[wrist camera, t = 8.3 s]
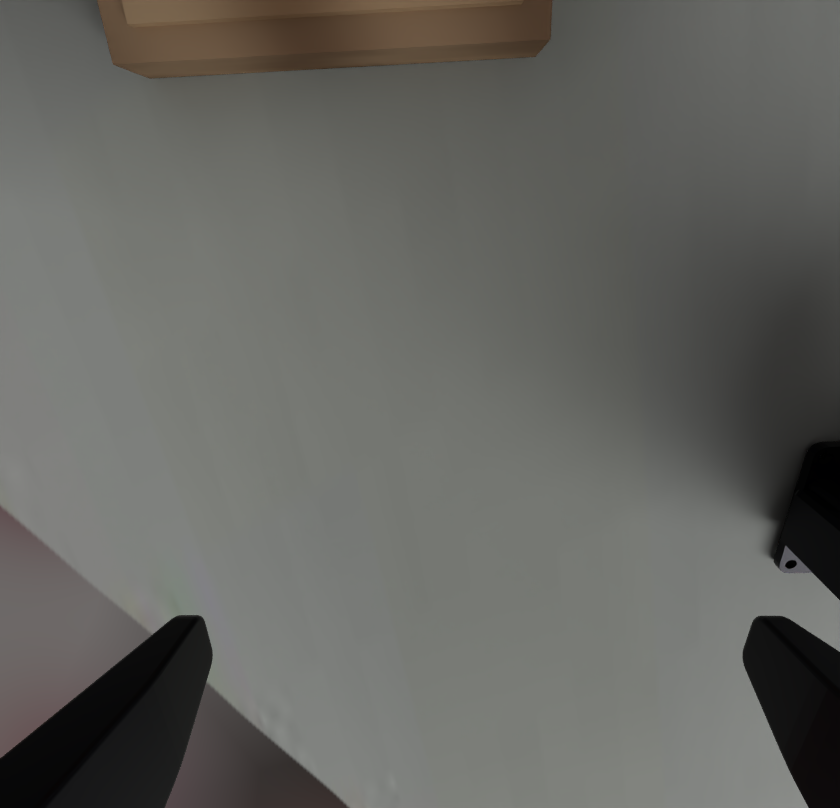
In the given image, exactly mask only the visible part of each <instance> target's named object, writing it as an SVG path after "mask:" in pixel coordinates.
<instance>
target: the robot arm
mask: <svg viewBox="0 0 840 808" xmlns="http://www.w3.org/2000/svg"><path fill="white" fill-rule="evenodd" d="M824 453H825V454H824ZM822 454H824V455H823V456H822V457H821V458H820V456H821V455H822ZM774 563H775V565H776V566H777V567H778V568H779V569H780V570H781V571H782V572H784V573H809V572H812V573H813V574H814V575H815V576H816V577H817V578H818V579H819V580H820V581H821V582H822V583H823V584H824V585H825V586H826V587H827V588H828V589H829V590H830V591H831V592H832V593H833V594H834V595H835V596H836V597H837V598H838V599H839V600H840V442H821V443H817V444H815V445H813V446H812V447H810V448H809V449H808V451H807V453H806V456H805V459H804V463H803V466H802V469H801V472H800V476H799V479H798V482H797V485H796V489H795V492H794V495H793V498H792V502H791V505H790V508H789V511H788V515H787V518H786V521H785V524H784V528H783V531H782V534H781V537H780V541H779V544H778V547H777V550H776V553H775V557H774ZM212 656H213V654H212V647H211V643H210V639H209V635H208V632H207V628H206V624H205V621H204V619H203V618H202V617H201V616H199V615H179V616H176V617H174V618H173V619H171V620H170V621H169V622H167V623H166V624H165V625H164V626H163V627H161V628H160V629H159V630H158V631H156V632H155V633H154V634H153V635H151V636H150V637H149V638H148V639H147V640H145V641H144V642H143V643H142V644H140V645H139V646H138V647H137V648H135V649H134V650H133V651H132V652H131V653H130V654H128V655H127V656H126V657H124V658H123V659H122V660H121V661H119V662H118V663H117V664H116V665H115V666H113V667H112V668H111V669H110V670H108V671H107V672H106V673H105V674H104V675H102V676H101V677H100V678H99V679H97V680H96V681H95V682H94V683H92V684H91V685H90V686H89V687H88V688H86V689H85V690H84V691H83V692H81V693H80V694H79V695H78V696H77V697H75V698H74V699H73V700H71V701H70V702H69V703H68V704H67V705H65V706H64V707H63V708H62V709H60V710H59V711H58V712H57V713H56V714H54V715H53V716H52V717H51V718H49V719H48V720H47V721H46V722H44V723H43V724H42V725H41V726H40V727H38V728H37V729H36V730H35V731H33V732H32V733H31V734H30V735H29V736H27V737H26V738H25V739H24V740H22V741H21V742H20V743H19V744H17V745H16V746H15V747H14V748H13V749H11V750H10V751H9V752H8V753H6V754H5V755H4V756H3V757H1V758H0V808H165V806H166V803H167V800H168V798H169V796H170V793H171V791H172V788H173V786H174V783H175V780H176V778H177V775H178V772H179V770H180V767H181V764H182V761H183V758H184V755H185V752H186V748H187V745H188V742H189V738H190V735H191V731H192V728H193V725H194V722H195V718H196V715H197V711H198V708H199V705H200V701H201V698H202V695H203V691H204V688H205V684H206V681H207V678H208V674H209V671H210V668H211V664H212ZM743 663H744V666H745V669H746V672H747V674H748V676H749V679H750V681H751V683H752V686H753V688H754V690H755V693H756V695H757V697H758V700H759V702H760V704H761V707H762V709H763V711H764V714H765V716H766V718H767V721H768V723H769V725H770V728H771V730H772V732H773V735H774V737H775V739H776V742H777V744H778V746H779V749H780V751H781V753H782V756H783V758H784V760H785V762H786V764H787V766H788V769H789V771H790V773H791V775H792V777H793V779H794V781H795V783H796V785H797V787H798V789H799V790H800V792H801V794H802V796H803V798H804V800H805V802H806V804H807V805H808V807H809V808H840V652H839V651H837V650H836V649H834V648H833V647H831V646H830V645H828V644H827V643H825V642H824V641H822V640H821V639H819V638H818V637H816V636H814V635H813V634H811V633H810V632H808V631H807V630H805V629H804V628H802V627H801V626H799V625H798V624H796V623H795V622H793V621H791V620H790V619H788V618H786V617H783V616H758V617H756V618H755V619H754V620H753V622H752V625H751V628H750V631H749V634H748V637H747V640H746V643H745V646H744V649H743Z"/></svg>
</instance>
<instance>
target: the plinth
mask: <svg viewBox="0 0 840 808" xmlns="http://www.w3.org/2000/svg"><path fill="white" fill-rule="evenodd" d="M97 2H98V6H99V10H100V14H101V18H102V22H103V26H104V30H105V34H106V38H107V42H108V46H109V50H110V54H111V58H112V62H113V65H116V66H118V67H121V68H124V69H126V70H129V71H132V72H134V73H137V74H139V75H142V76H145V77H147V78H167V77H185V76H202V75H220V74H238V73H256V72H274V71H291V70H309V69H327V68H345V67H363V66H380V65H398V64H416V63H434V62H451V61H469V60H487V59H505V58H523V57H536V55H537V54H538V53H539V52H540V51H541V50H542V49H543V47H544V46H545V45H546V44H547V43H548V42H549V40H550V36H551V16H552V0H97Z"/></svg>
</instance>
